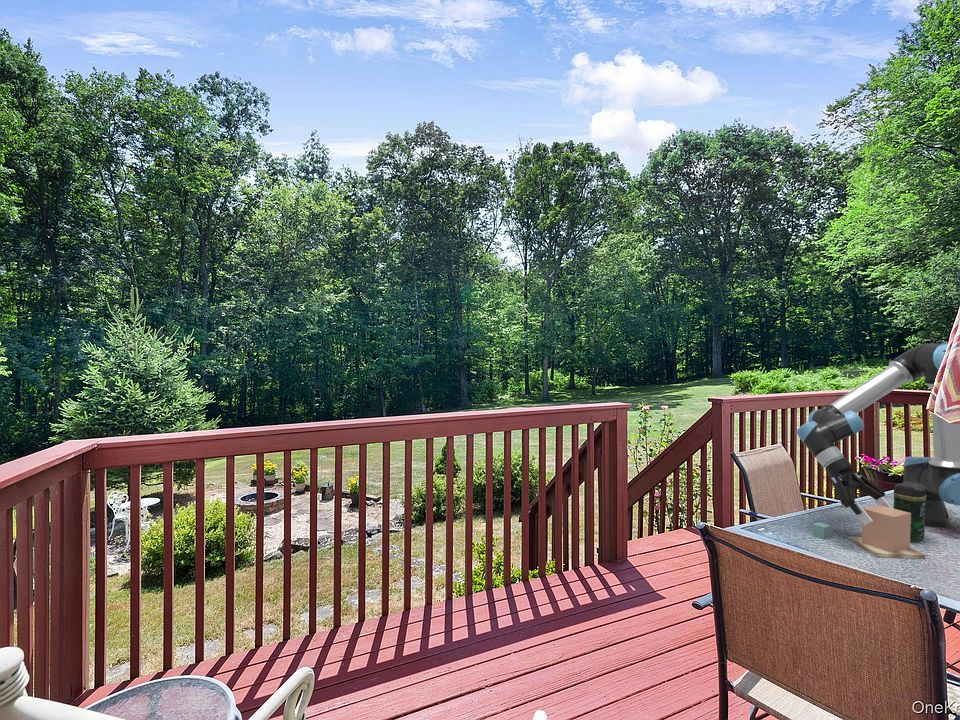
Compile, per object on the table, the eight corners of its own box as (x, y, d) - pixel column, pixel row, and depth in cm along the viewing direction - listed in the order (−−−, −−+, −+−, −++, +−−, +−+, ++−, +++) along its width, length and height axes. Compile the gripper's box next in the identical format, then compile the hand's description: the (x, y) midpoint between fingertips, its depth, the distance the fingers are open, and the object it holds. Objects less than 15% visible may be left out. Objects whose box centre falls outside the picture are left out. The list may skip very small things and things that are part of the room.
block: (819, 533, 186) (820, 522, 186) (831, 537, 182) (831, 525, 182) (812, 535, 184) (812, 523, 184) (823, 539, 181) (824, 527, 181)
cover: (878, 538, 178) (879, 505, 178) (909, 548, 170) (911, 513, 170) (861, 542, 174) (862, 508, 174) (892, 552, 166) (894, 517, 166)
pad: (894, 541, 179) (894, 538, 179) (925, 558, 165) (925, 554, 165) (848, 540, 180) (849, 536, 180) (876, 557, 166) (876, 553, 166)
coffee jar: (917, 544, 176) (919, 487, 175) (888, 537, 183) (890, 482, 182) (928, 538, 182) (930, 483, 181) (899, 531, 188) (901, 478, 187)
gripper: (848, 465, 194) (894, 520, 181) (803, 472, 183) (848, 531, 170) (865, 453, 189) (913, 508, 176) (819, 460, 178) (867, 520, 165)
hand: (881, 520), depth 173 cm, fingers open, 13 cm apart
